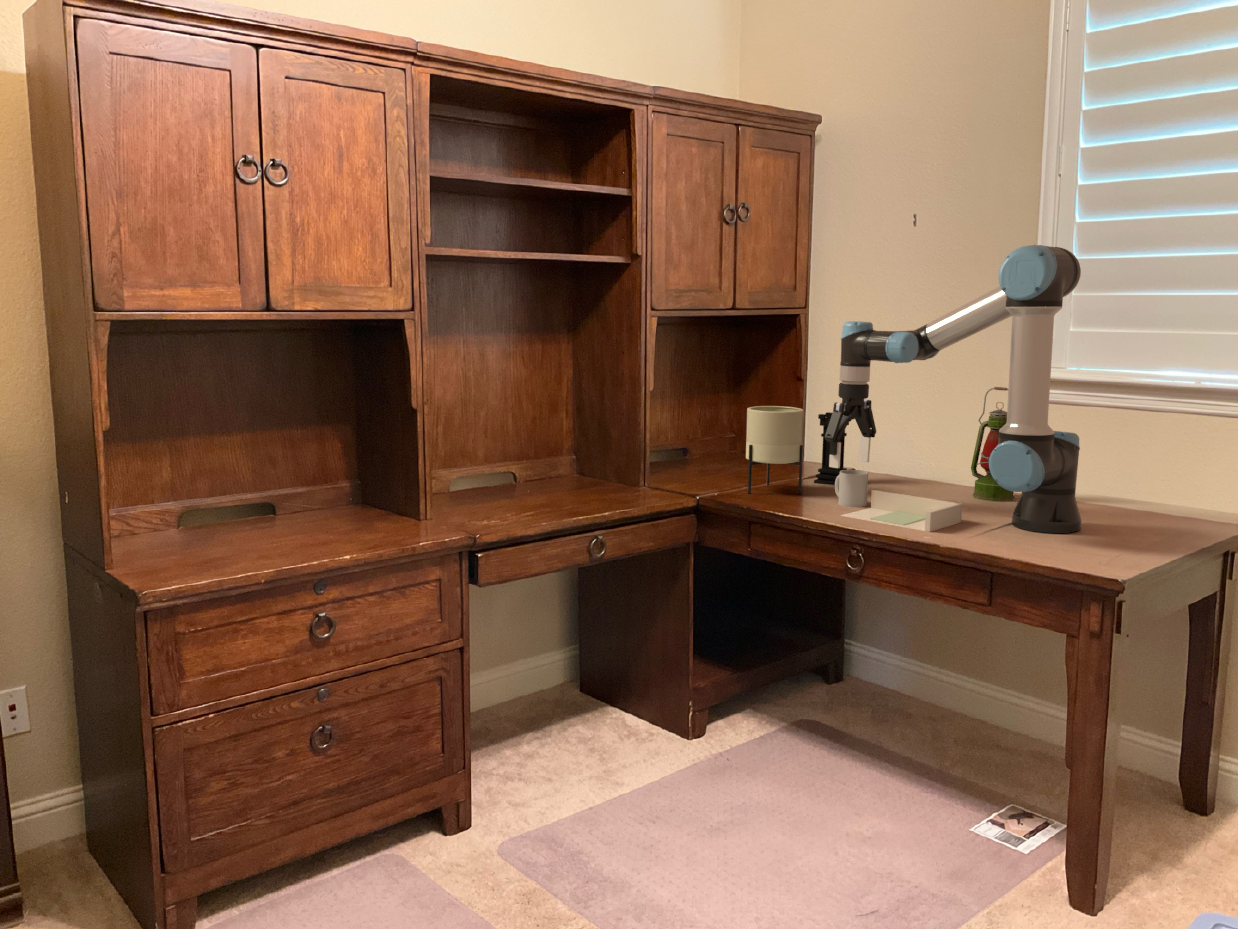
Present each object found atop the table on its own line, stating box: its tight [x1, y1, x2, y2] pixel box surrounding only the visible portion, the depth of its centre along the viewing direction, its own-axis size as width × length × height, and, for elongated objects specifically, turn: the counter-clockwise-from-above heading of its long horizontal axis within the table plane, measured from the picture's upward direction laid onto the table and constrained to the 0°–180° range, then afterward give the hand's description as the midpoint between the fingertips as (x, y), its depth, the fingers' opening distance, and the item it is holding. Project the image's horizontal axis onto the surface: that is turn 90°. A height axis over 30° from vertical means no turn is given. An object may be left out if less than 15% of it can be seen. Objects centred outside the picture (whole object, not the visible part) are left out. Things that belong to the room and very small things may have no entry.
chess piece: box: [813, 412, 850, 486], centre depth 297 cm, size 8×8×20 cm
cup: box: [834, 469, 869, 508], centre depth 265 cm, size 7×10×9 cm
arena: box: [840, 489, 963, 533], centre depth 247 cm, size 24×15×5 cm, turn 44°
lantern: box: [970, 386, 1015, 503], centre depth 275 cm, size 14×11×30 cm
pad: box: [870, 511, 926, 525], centre depth 247 cm, size 9×12×1 cm
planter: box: [745, 405, 804, 495], centre depth 282 cm, size 15×16×23 cm
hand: (849, 464), depth 264 cm, fingers open, 13 cm apart
